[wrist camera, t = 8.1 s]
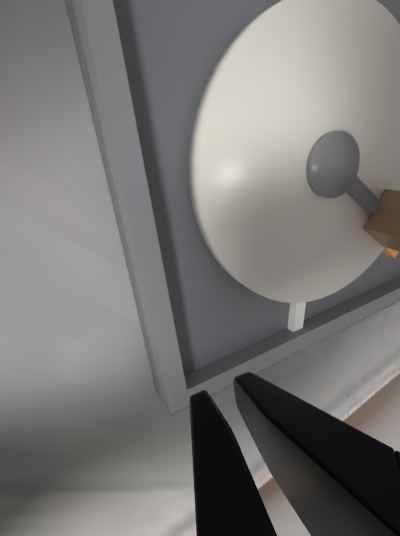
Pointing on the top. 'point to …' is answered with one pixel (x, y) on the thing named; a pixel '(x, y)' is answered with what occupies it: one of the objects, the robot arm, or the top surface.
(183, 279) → the dial board
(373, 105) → the dial
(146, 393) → the top surface
